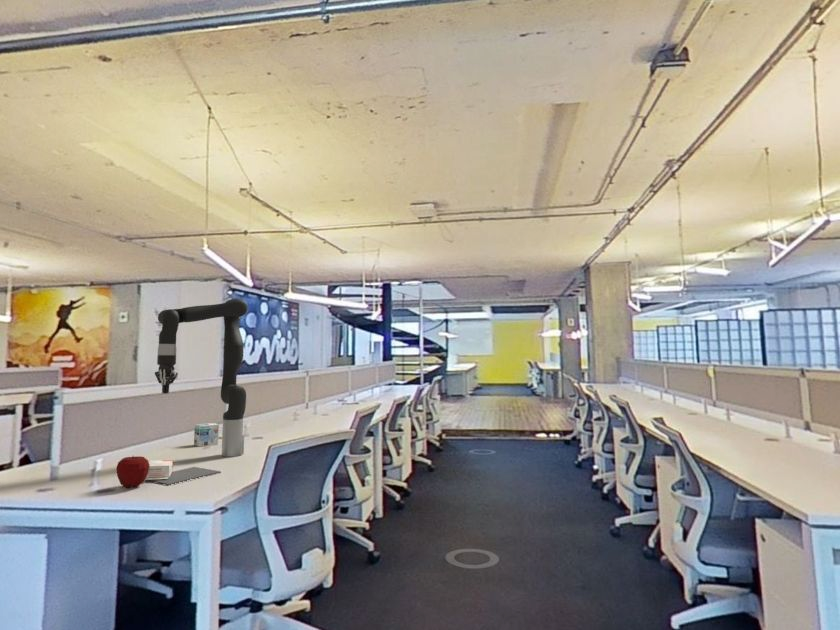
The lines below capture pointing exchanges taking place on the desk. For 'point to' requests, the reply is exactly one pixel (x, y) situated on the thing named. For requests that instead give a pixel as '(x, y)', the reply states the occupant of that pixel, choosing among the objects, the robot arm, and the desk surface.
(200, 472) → the rubber mat
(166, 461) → the ink cartridge box
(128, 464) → the apple
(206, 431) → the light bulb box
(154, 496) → the desk surface
